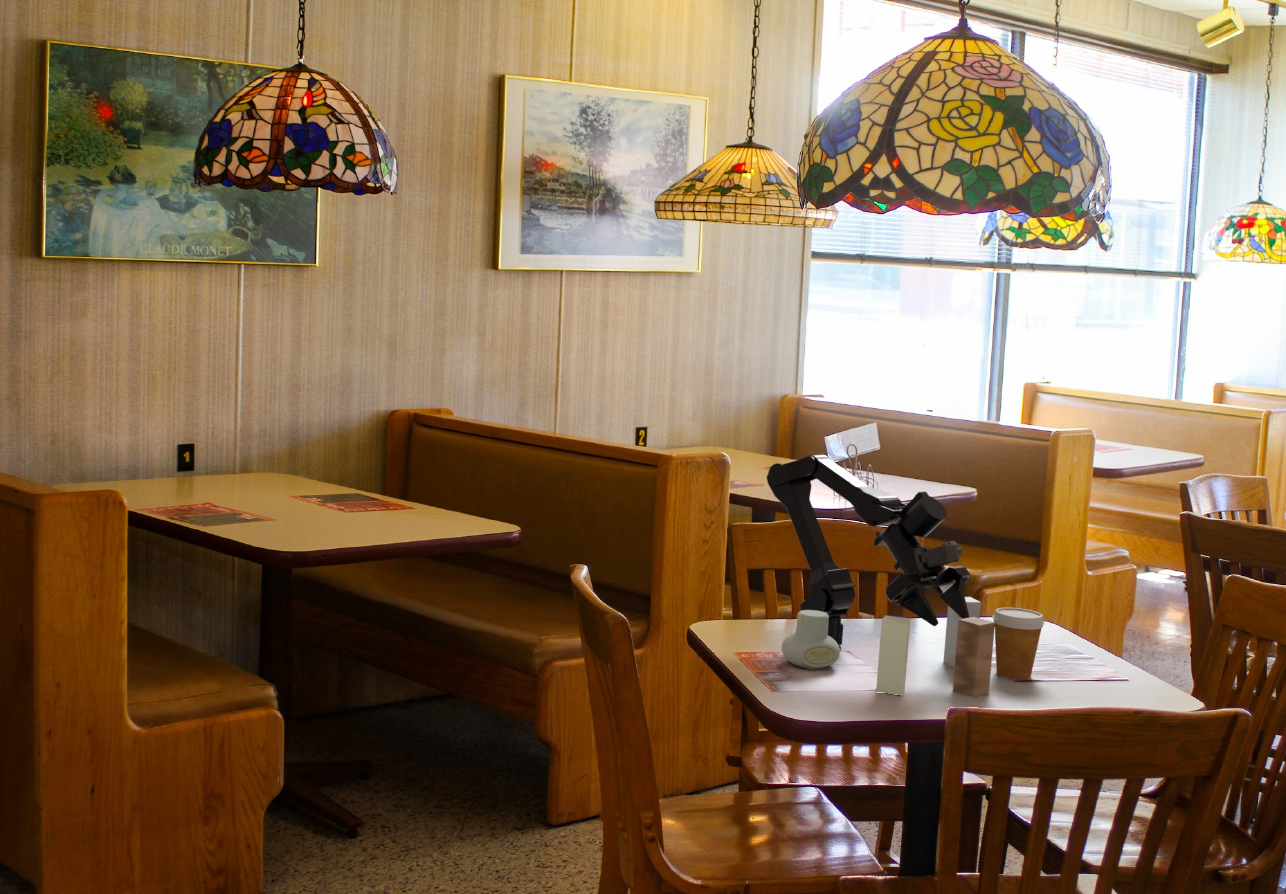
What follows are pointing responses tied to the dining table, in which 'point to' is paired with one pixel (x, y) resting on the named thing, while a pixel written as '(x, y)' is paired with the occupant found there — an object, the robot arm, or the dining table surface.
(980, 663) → the walnut post
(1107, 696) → the dining table surface
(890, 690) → the sage post
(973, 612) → the grey post
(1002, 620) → the disposable coffee cup
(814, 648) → the air freshener
